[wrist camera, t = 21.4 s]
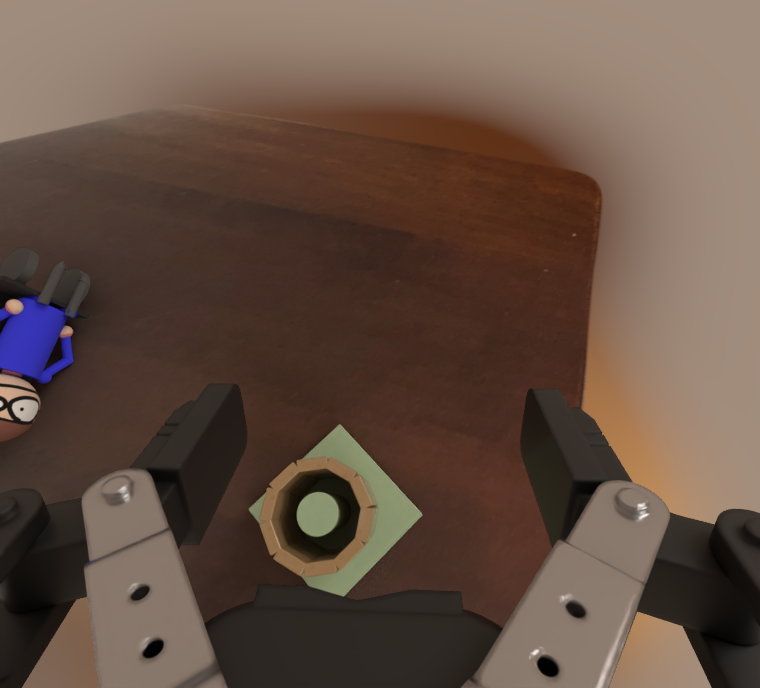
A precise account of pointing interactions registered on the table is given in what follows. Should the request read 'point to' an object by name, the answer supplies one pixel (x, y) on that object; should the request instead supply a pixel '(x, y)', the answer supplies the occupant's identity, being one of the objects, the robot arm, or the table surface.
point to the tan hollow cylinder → (288, 535)
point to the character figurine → (33, 334)
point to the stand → (349, 512)
